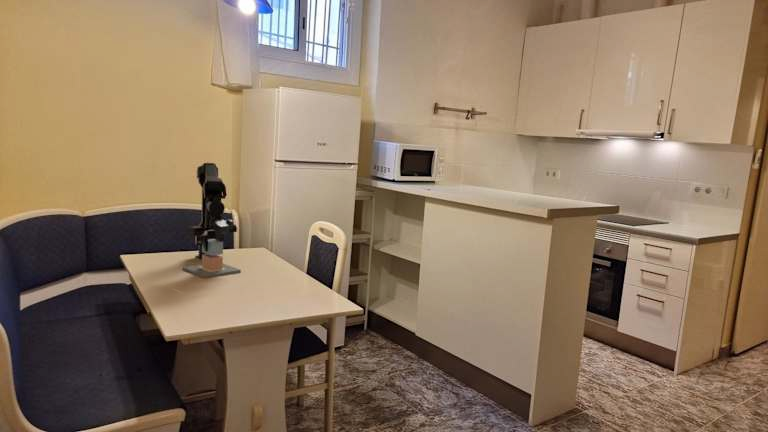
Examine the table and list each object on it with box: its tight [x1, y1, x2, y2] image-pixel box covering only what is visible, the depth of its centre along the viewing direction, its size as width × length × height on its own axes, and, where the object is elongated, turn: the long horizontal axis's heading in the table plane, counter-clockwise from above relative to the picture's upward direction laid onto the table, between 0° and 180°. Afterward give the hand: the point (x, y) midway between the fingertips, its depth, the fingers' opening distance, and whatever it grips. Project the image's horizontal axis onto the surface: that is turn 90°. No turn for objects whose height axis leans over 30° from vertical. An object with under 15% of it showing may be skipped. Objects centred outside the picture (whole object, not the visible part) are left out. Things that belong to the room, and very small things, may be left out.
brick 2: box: [201, 254, 224, 271], centre depth 203 cm, size 7×5×5 cm
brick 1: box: [202, 239, 224, 256], centre depth 203 cm, size 7×5×5 cm
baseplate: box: [182, 263, 242, 279], centre depth 204 cm, size 16×16×1 cm
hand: (212, 250), depth 203 cm, fingers closed on brick 1, 5 cm apart
